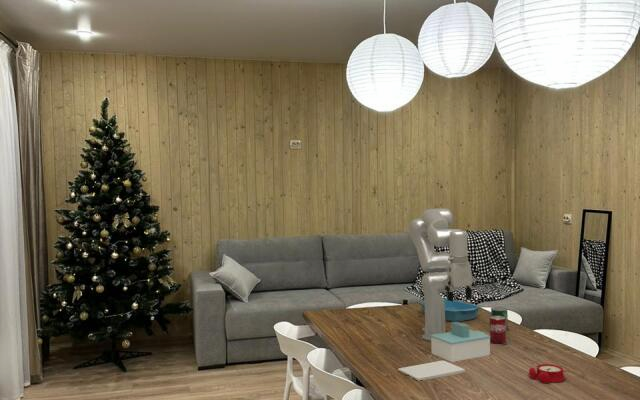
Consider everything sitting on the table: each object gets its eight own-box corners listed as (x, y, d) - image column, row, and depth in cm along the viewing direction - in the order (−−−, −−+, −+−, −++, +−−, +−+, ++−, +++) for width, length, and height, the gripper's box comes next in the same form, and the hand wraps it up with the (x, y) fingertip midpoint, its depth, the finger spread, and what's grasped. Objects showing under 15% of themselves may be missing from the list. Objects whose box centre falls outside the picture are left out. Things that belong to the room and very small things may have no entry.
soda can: (507, 345, 260) (506, 319, 260) (490, 345, 261) (490, 319, 261) (505, 341, 267) (505, 315, 267) (489, 341, 268) (488, 315, 268)
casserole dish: (413, 312, 334) (413, 300, 334) (444, 308, 344) (444, 296, 344) (454, 325, 301) (454, 312, 301) (487, 320, 311) (487, 307, 311)
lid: (451, 347, 236) (450, 330, 235) (430, 339, 249) (430, 323, 248) (493, 339, 245) (493, 323, 245) (471, 332, 258) (470, 317, 258)
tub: (451, 363, 236) (451, 344, 236) (431, 355, 249) (431, 336, 248) (490, 356, 244) (489, 337, 244) (468, 348, 257) (468, 330, 257)
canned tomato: (506, 328, 291) (505, 306, 291) (509, 332, 283) (509, 310, 283) (490, 328, 292) (489, 307, 292) (493, 332, 284) (492, 310, 284)
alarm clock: (573, 370, 213) (543, 367, 207) (571, 387, 213) (540, 384, 207) (552, 362, 223) (522, 359, 217) (549, 379, 222) (519, 376, 216)
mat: (398, 371, 229) (397, 368, 229) (443, 362, 238) (443, 360, 238) (418, 381, 216) (418, 378, 216) (465, 372, 225) (465, 369, 225)
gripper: (447, 262, 239) (448, 303, 239) (480, 259, 246) (481, 298, 246) (436, 260, 245) (437, 300, 246) (469, 257, 253) (470, 296, 253)
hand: (459, 299), depth 246 cm, fingers open, 9 cm apart
